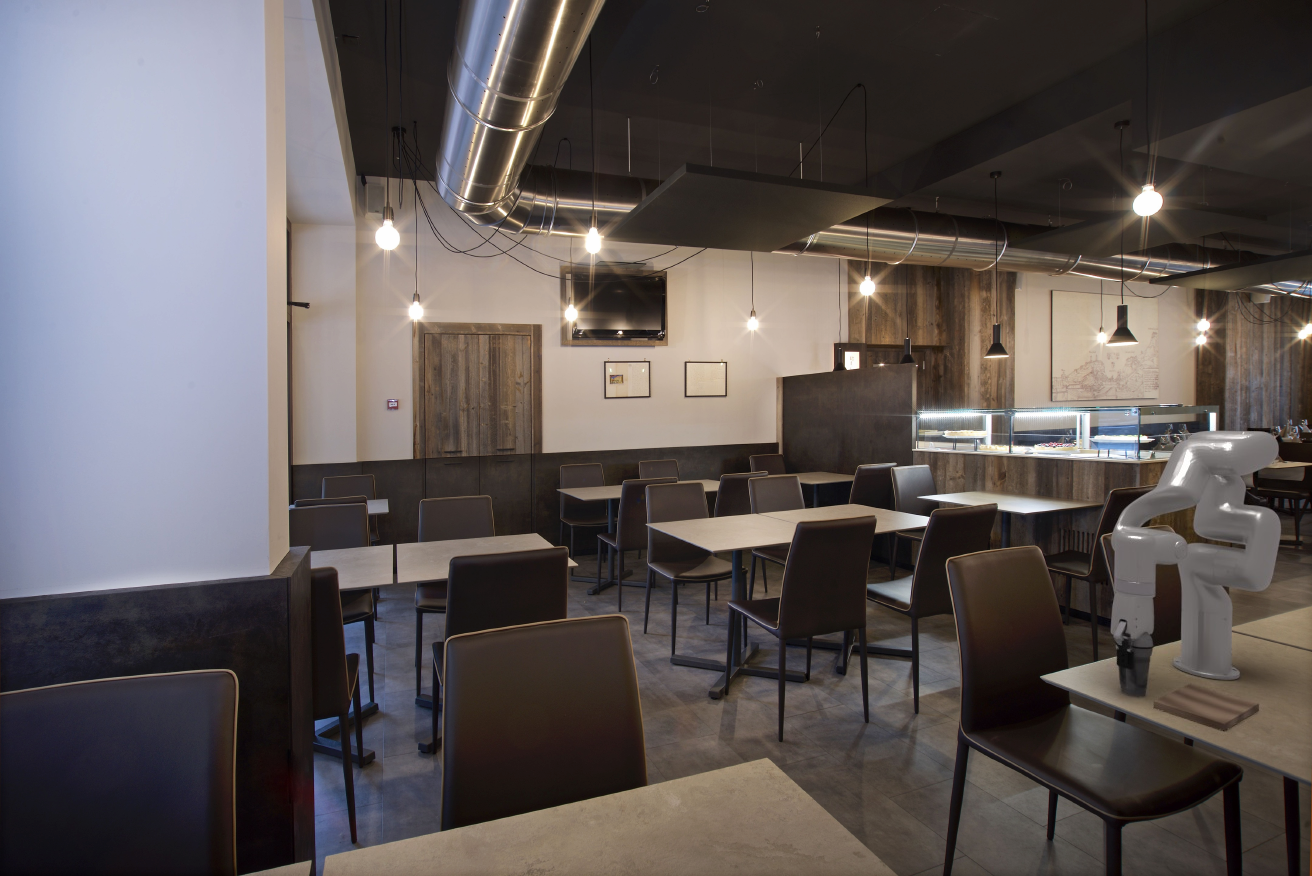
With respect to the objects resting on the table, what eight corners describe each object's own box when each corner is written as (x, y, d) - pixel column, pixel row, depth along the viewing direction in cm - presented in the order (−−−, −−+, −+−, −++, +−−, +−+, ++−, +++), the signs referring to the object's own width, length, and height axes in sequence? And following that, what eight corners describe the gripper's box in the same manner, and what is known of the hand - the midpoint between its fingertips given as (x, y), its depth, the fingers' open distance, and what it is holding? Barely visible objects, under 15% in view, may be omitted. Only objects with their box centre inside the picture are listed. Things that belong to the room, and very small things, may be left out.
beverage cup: (1160, 701, 141) (1161, 612, 140) (1123, 698, 142) (1124, 610, 142) (1142, 687, 148) (1143, 602, 148) (1107, 685, 150) (1108, 601, 149)
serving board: (1190, 689, 147) (1190, 683, 147) (1258, 710, 136) (1258, 703, 136) (1153, 708, 138) (1153, 701, 137) (1224, 731, 127) (1224, 723, 127)
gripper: (1133, 578, 152) (1132, 652, 153) (1096, 588, 143) (1095, 666, 144) (1171, 585, 146) (1170, 662, 146) (1135, 596, 137) (1133, 677, 137)
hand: (1133, 663), depth 145 cm, fingers closed on beverage cup, 6 cm apart
